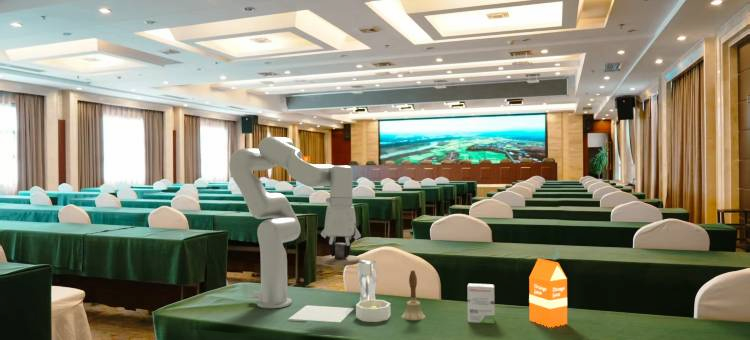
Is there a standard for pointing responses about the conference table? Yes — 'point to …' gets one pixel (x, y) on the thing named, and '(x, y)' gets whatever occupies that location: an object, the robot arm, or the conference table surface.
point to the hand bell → (413, 302)
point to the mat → (321, 314)
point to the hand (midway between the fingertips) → (340, 255)
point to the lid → (340, 257)
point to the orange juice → (548, 294)
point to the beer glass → (367, 279)
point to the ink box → (481, 303)
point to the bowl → (373, 310)
